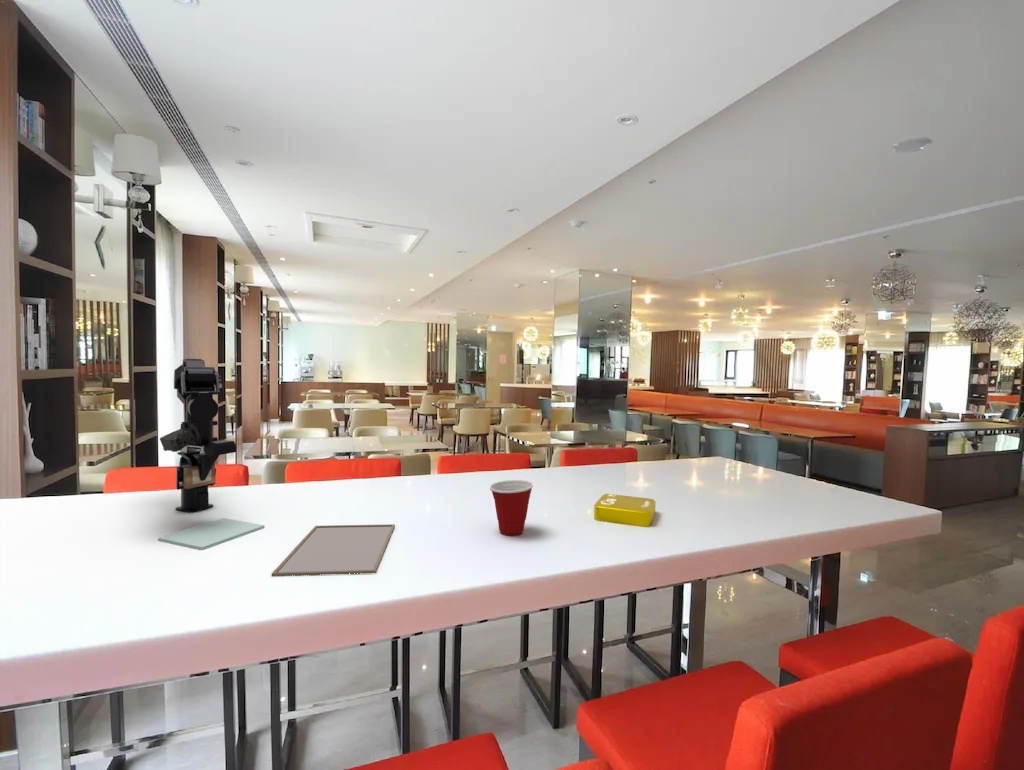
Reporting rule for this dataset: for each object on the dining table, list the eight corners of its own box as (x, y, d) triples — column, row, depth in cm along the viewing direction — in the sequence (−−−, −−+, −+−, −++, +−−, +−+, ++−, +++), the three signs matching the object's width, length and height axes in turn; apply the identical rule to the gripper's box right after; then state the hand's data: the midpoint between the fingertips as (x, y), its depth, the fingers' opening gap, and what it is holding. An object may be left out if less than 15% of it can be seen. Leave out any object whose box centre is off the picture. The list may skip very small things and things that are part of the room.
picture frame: (315, 529, 120) (271, 578, 92) (315, 525, 120) (271, 573, 92) (394, 528, 122) (375, 576, 94) (394, 524, 122) (375, 570, 94)
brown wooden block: (183, 488, 118) (183, 467, 118) (210, 482, 124) (210, 462, 124) (188, 489, 117) (188, 468, 117) (215, 482, 124) (215, 463, 124)
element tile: (650, 529, 125) (650, 511, 125) (592, 521, 130) (592, 503, 130) (655, 514, 139) (656, 497, 139) (603, 507, 144) (603, 491, 144)
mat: (158, 540, 109) (158, 537, 109) (223, 520, 124) (223, 517, 124) (202, 550, 104) (202, 547, 104) (264, 527, 119) (264, 525, 119)
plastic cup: (484, 526, 123) (485, 479, 123) (525, 523, 126) (526, 477, 126) (493, 541, 113) (494, 490, 112) (538, 538, 116) (539, 488, 115)
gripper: (140, 418, 116) (140, 483, 117) (194, 422, 110) (194, 491, 110) (186, 414, 127) (186, 474, 127) (238, 418, 120) (238, 481, 120)
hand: (200, 480), depth 121 cm, fingers closed on brown wooden block, 2 cm apart
